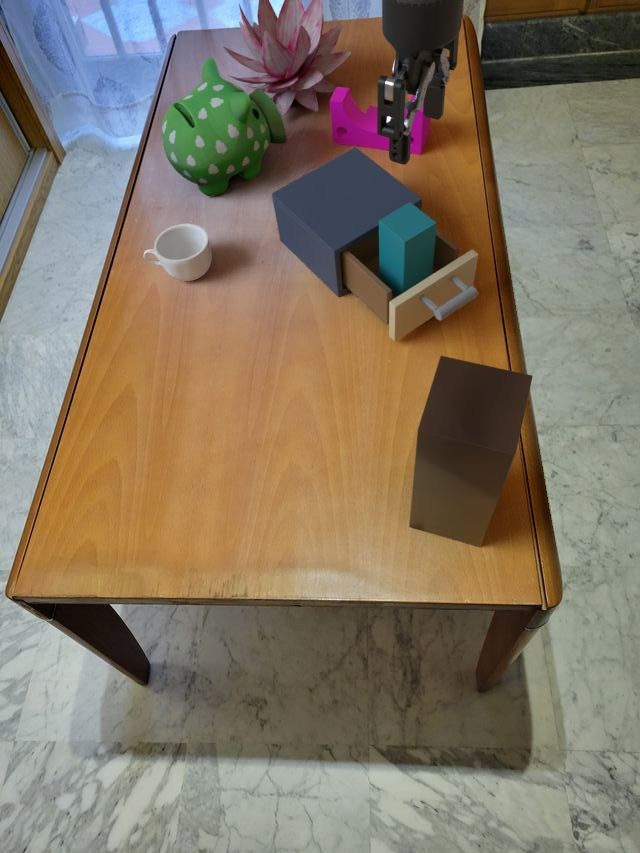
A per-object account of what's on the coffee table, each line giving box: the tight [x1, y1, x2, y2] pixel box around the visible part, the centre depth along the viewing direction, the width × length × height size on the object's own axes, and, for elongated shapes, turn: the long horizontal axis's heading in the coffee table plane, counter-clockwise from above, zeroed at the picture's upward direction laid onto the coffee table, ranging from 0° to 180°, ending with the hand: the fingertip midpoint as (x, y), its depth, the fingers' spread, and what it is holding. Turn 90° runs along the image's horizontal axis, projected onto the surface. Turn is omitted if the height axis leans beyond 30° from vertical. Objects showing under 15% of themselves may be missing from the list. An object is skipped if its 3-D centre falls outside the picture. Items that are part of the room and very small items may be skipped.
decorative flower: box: [223, 0, 352, 117], centre depth 108 cm, size 21×21×15 cm
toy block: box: [329, 86, 432, 156], centre depth 103 cm, size 15×6×8 cm, turn 71°
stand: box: [408, 355, 533, 548], centre depth 63 cm, size 8×8×22 cm
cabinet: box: [271, 146, 423, 298], centre depth 91 cm, size 15×15×9 cm
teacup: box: [143, 223, 213, 282], centre depth 92 cm, size 10×8×5 cm
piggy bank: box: [160, 57, 288, 198], centre depth 99 cm, size 14×18×15 cm
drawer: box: [340, 228, 479, 343], centre depth 84 cm, size 18×14×7 cm
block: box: [379, 202, 437, 297], centre depth 82 cm, size 5×5×11 cm
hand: (416, 138), depth 71 cm, fingers open, 8 cm apart
